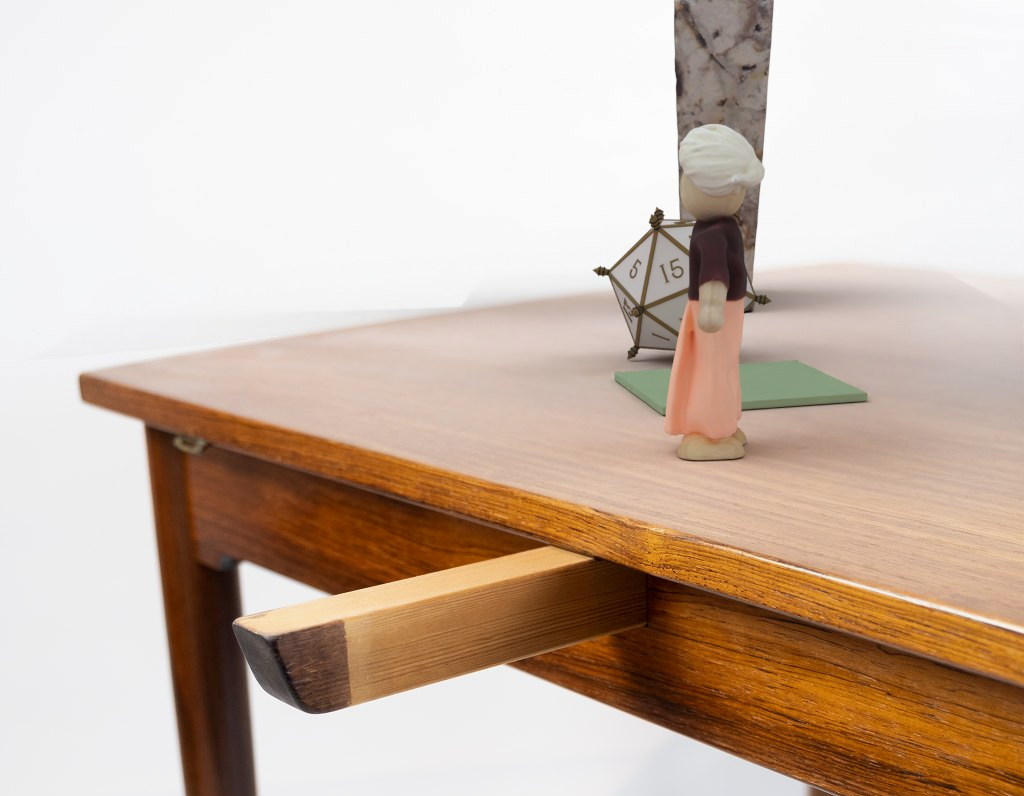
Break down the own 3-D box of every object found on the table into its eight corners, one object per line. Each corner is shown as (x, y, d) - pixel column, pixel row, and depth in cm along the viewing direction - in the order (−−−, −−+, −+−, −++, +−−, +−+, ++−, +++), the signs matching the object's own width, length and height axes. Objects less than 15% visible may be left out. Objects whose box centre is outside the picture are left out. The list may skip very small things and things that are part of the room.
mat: (797, 367, 81) (797, 359, 80) (867, 401, 71) (867, 392, 71) (614, 379, 79) (614, 372, 79) (662, 415, 70) (662, 406, 70)
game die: (653, 421, 87) (606, 269, 89) (795, 365, 85) (743, 211, 87) (613, 367, 79) (562, 201, 81) (769, 304, 77) (712, 135, 79)
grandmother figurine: (658, 433, 66) (659, 124, 62) (746, 430, 66) (753, 120, 61) (670, 474, 59) (671, 128, 54) (768, 471, 59) (778, 124, 54)
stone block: (778, 312, 100) (788, -22, 93) (672, 315, 101) (674, -17, 93) (760, 288, 113) (768, -9, 105) (666, 291, 113) (667, -5, 105)
